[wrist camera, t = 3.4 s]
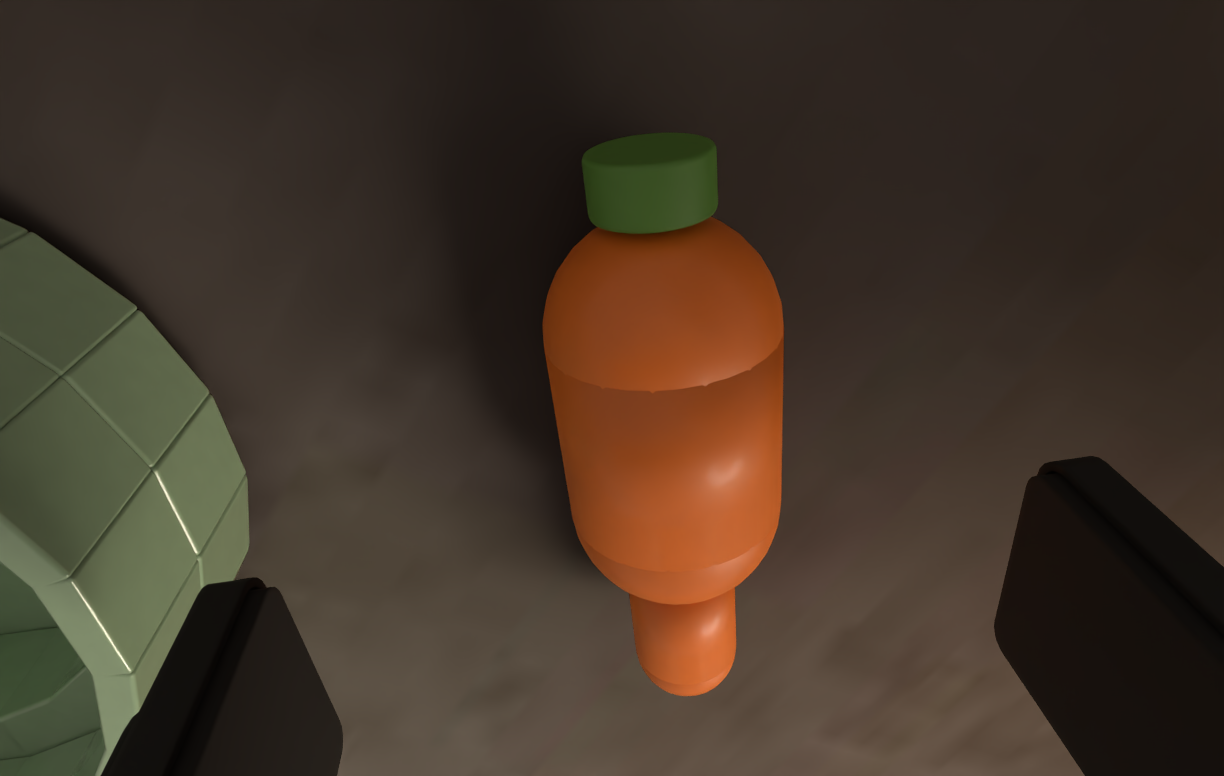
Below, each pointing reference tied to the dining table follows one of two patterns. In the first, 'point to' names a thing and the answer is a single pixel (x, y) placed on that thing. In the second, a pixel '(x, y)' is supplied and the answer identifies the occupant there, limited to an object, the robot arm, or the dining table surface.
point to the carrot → (668, 399)
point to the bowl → (97, 508)
